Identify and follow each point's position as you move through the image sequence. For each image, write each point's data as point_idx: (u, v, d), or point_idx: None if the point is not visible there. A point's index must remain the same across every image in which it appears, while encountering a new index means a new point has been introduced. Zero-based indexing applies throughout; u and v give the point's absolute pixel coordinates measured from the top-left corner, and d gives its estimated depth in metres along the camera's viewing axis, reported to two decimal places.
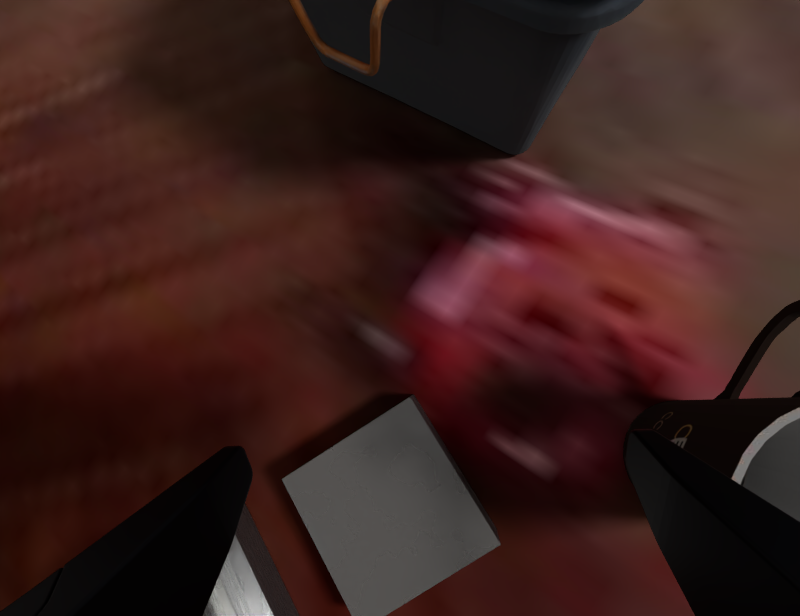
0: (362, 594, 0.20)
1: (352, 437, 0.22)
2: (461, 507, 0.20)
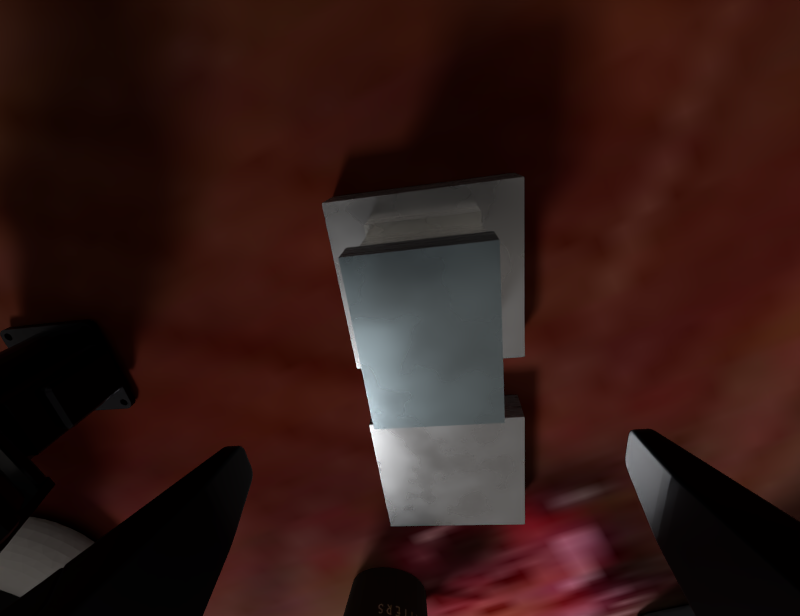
0: (396, 437, 0.23)
1: (522, 479, 0.23)
2: (426, 518, 0.25)
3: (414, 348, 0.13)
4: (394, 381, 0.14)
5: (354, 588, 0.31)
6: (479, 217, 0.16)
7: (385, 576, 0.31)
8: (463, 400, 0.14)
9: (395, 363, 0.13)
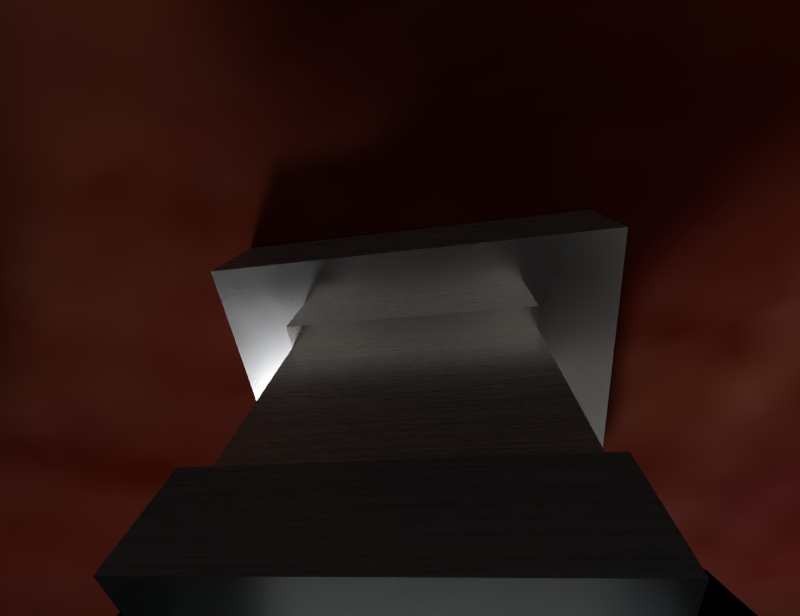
0: None
1: None
2: None
3: None
4: None
5: None
6: (534, 317, 0.07)
7: None
8: None
9: None
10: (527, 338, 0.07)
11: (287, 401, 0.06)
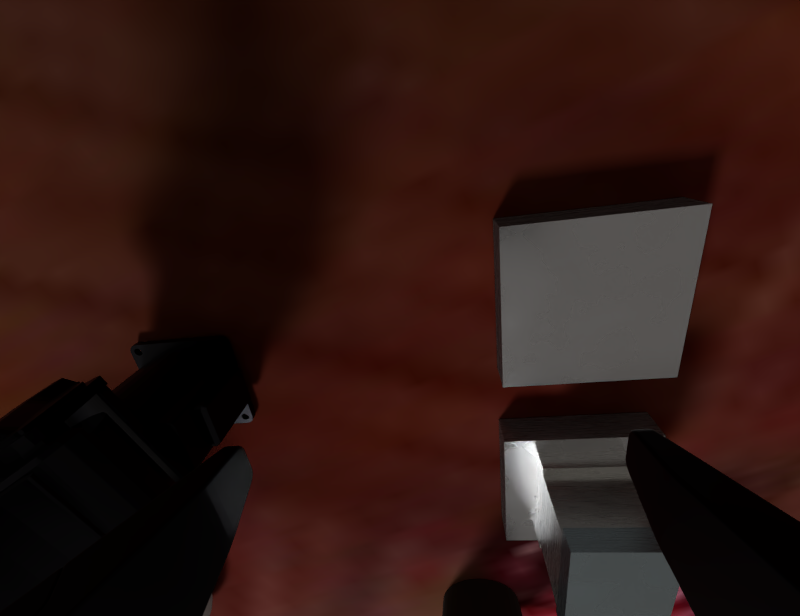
0: (529, 454, 0.23)
1: None
2: None
3: (609, 598, 0.18)
4: (588, 613, 0.19)
5: (450, 600, 0.31)
6: None
7: (483, 588, 0.31)
8: None
9: (592, 605, 0.19)
10: None
11: (562, 502, 0.20)
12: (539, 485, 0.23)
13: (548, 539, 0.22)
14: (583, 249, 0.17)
